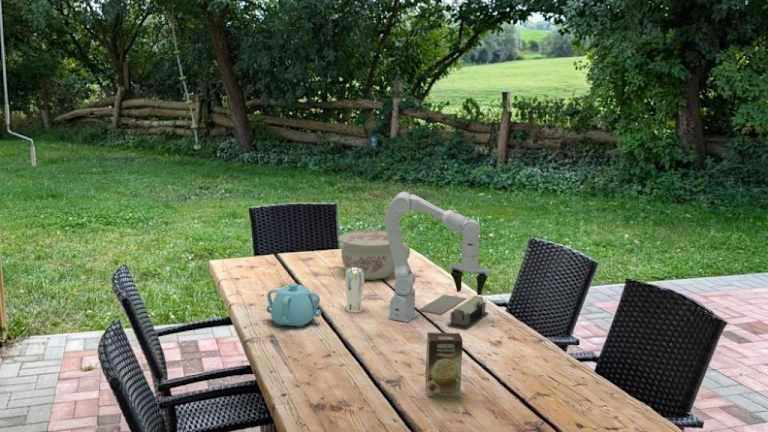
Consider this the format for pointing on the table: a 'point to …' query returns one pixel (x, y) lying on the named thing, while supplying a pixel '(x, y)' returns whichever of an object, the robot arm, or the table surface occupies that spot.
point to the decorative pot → (293, 305)
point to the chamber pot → (369, 253)
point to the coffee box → (443, 364)
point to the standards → (468, 318)
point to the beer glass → (354, 289)
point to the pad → (442, 304)
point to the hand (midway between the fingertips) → (469, 292)
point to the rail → (468, 307)
